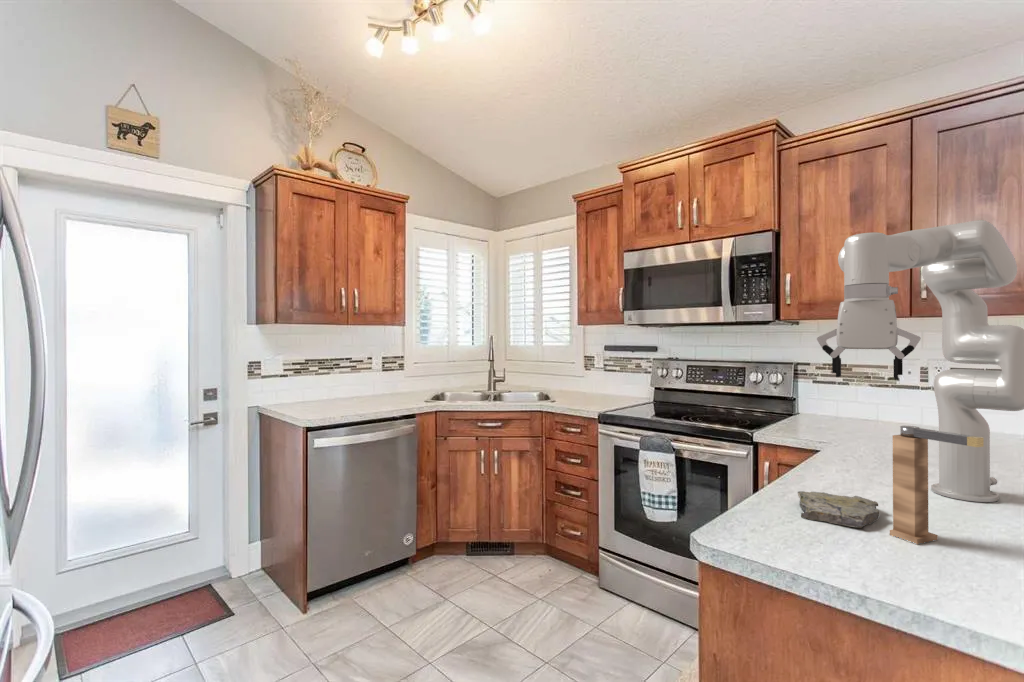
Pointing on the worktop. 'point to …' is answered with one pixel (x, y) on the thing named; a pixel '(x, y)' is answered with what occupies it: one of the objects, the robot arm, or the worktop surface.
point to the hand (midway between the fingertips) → (866, 377)
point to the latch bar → (942, 436)
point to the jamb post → (910, 489)
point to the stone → (838, 509)
